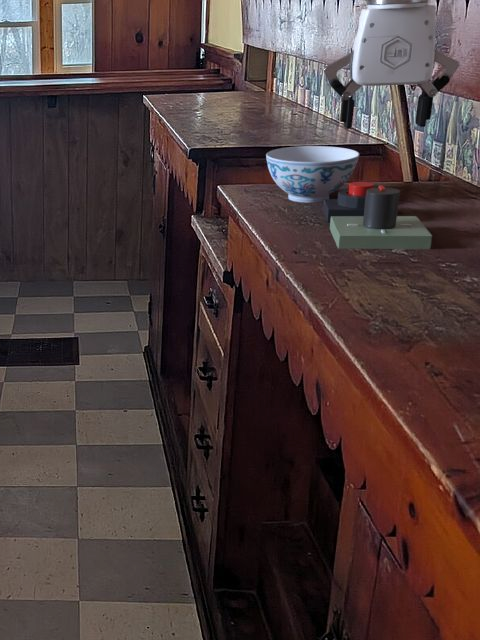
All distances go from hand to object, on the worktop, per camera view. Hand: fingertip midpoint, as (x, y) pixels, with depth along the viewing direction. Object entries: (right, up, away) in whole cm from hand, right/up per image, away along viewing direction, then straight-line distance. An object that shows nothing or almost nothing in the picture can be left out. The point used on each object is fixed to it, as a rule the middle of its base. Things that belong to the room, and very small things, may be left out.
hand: (383, 126), depth 122 cm
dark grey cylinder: (0, -14, +2) cm, 14 cm away
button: (+2, -7, +13) cm, 15 cm away
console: (+1, -16, +3) cm, 16 cm away
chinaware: (-1, -5, +28) cm, 29 cm away
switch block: (+2, -11, +14) cm, 18 cm away
